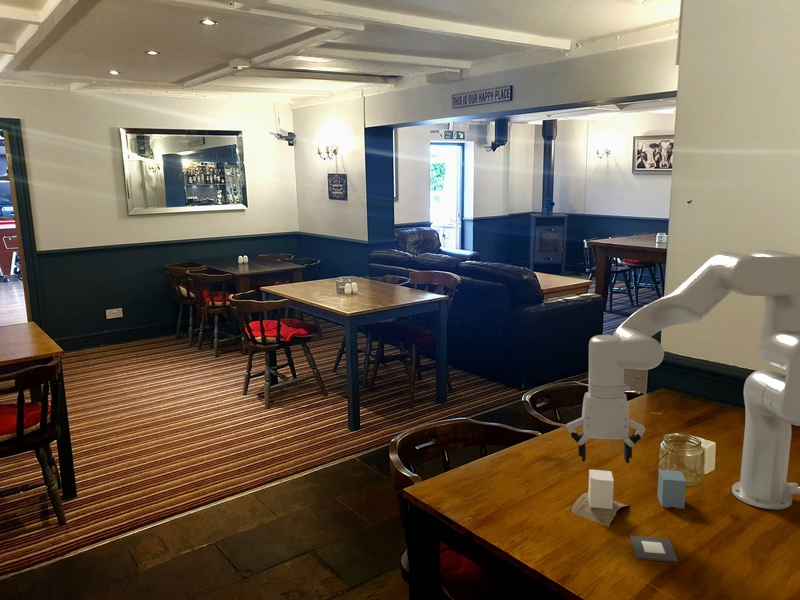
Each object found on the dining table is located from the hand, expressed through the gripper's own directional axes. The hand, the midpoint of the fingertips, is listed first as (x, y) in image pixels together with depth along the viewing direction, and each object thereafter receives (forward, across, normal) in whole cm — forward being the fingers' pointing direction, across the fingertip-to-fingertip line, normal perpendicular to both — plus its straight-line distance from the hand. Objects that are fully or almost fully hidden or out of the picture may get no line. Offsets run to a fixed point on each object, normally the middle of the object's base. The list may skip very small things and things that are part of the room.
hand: (604, 459), depth 144 cm
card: (+13, -8, +15) cm, 21 cm away
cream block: (+11, +1, +1) cm, 11 cm away
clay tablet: (+14, +1, 0) cm, 14 cm away
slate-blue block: (+13, -16, -6) cm, 21 cm away
